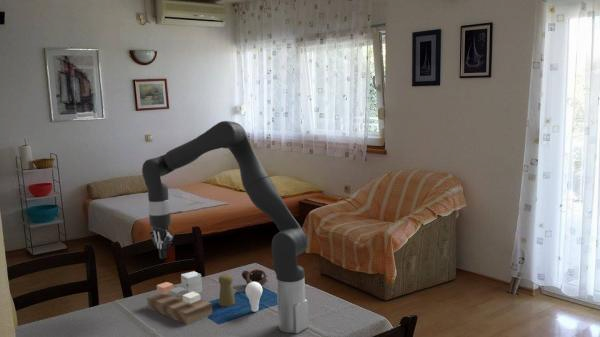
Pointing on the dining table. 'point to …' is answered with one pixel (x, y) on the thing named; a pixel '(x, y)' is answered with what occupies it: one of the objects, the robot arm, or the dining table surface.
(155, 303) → the key panel
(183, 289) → the grey key
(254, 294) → the lightbulb
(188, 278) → the skincare box
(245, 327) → the dining table surface
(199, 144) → the robot arm
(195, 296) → the off-white key
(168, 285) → the terracotta key
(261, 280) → the pottery mug
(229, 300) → the olive rounded waisted cylinder
